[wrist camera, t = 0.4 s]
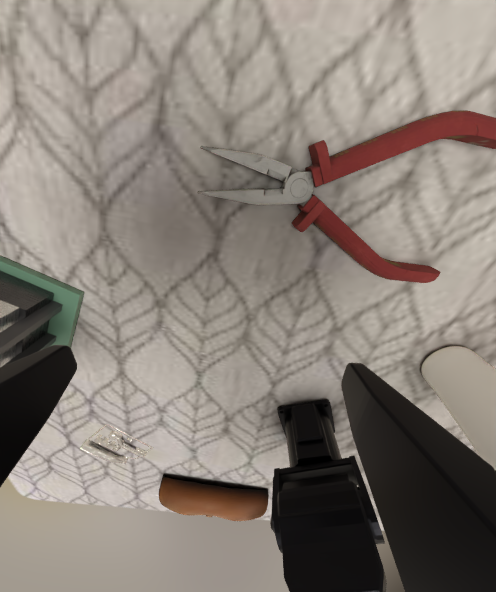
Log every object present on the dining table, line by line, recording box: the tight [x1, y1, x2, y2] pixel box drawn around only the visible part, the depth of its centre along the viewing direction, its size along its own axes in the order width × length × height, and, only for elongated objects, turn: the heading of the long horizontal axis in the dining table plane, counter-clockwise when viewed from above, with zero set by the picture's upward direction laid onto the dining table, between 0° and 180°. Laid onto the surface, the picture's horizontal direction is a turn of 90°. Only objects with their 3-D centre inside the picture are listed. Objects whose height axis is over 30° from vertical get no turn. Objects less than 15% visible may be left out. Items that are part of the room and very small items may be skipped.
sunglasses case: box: [159, 474, 268, 521], centre depth 39 cm, size 18×7×7 cm, turn 77°
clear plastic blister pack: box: [80, 424, 153, 464], centre depth 34 cm, size 8×7×2 cm
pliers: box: [198, 111, 496, 283], centre depth 17 cm, size 12×20×3 cm, turn 82°
